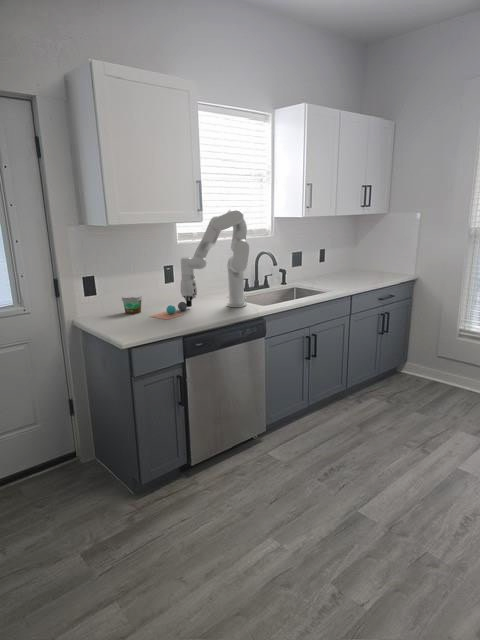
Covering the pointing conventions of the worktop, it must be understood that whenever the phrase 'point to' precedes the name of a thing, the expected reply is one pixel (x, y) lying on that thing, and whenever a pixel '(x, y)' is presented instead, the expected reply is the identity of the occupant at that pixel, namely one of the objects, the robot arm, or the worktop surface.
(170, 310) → the object ball
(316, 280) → the worktop surface
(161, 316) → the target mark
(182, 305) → the grey ball
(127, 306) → the food container
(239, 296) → the robot arm
